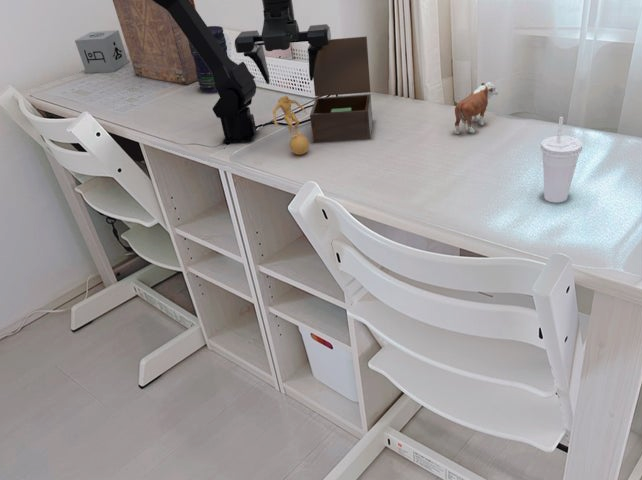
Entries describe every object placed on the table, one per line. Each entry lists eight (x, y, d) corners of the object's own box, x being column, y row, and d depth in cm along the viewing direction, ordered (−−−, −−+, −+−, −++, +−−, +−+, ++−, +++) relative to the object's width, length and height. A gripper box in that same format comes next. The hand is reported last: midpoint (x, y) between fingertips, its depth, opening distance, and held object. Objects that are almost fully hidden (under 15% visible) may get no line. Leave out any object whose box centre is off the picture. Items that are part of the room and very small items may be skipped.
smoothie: (530, 191, 106) (537, 112, 97) (567, 186, 106) (577, 107, 97) (543, 208, 101) (551, 126, 92) (581, 203, 101) (593, 121, 92)
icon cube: (86, 73, 197) (74, 40, 191) (101, 63, 204) (90, 32, 198) (114, 71, 195) (103, 38, 189) (128, 62, 203) (118, 30, 197)
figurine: (292, 163, 125) (282, 105, 118) (273, 156, 128) (262, 100, 121) (321, 148, 129) (313, 92, 122) (302, 142, 133) (294, 87, 126)
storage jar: (218, 79, 176) (203, 13, 166) (242, 83, 171) (228, 14, 160) (192, 91, 170) (175, 22, 159) (217, 95, 165) (200, 24, 154)
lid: (366, 36, 130) (366, 36, 130) (309, 41, 131) (309, 41, 132) (370, 92, 135) (370, 91, 135) (315, 96, 136) (315, 95, 137)
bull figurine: (500, 118, 133) (502, 80, 128) (464, 139, 126) (465, 100, 121) (483, 114, 136) (484, 77, 131) (447, 135, 128) (447, 96, 123)
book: (135, 75, 189) (101, -34, 171) (159, 66, 194) (129, -40, 176) (187, 85, 175) (157, -32, 157) (211, 75, 181) (184, -39, 163)
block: (333, 128, 136) (331, 108, 133) (353, 126, 135) (351, 107, 133) (331, 136, 132) (329, 116, 130) (352, 134, 132) (349, 114, 129)
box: (370, 139, 131) (368, 110, 127) (313, 142, 132) (309, 114, 129) (372, 121, 139) (370, 93, 135) (319, 124, 141) (315, 97, 137)
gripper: (220, 14, 113) (238, 98, 122) (319, 5, 111) (330, 91, 120) (234, 1, 122) (249, 80, 131) (326, -8, 119) (335, 73, 129)
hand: (289, 81), depth 127 cm, fingers open, 9 cm apart
